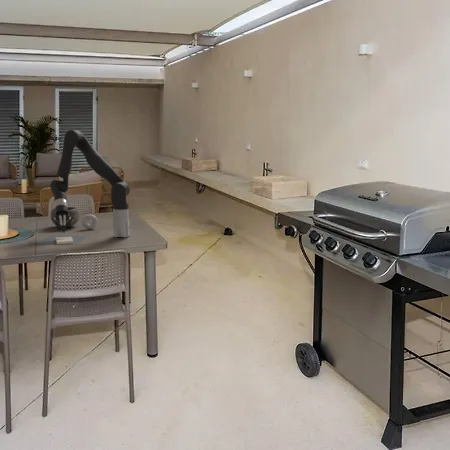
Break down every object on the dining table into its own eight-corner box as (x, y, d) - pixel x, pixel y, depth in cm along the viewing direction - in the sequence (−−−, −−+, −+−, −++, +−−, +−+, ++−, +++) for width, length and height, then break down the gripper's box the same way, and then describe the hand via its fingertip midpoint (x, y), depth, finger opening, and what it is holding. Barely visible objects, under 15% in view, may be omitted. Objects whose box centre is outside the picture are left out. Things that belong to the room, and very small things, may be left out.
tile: (55, 237, 312) (56, 241, 301) (71, 236, 315) (73, 240, 304) (55, 240, 312) (56, 244, 301) (71, 239, 315) (73, 243, 304)
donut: (82, 230, 344) (81, 214, 342) (82, 229, 347) (81, 214, 345) (98, 229, 346) (97, 214, 344) (98, 228, 349) (97, 213, 347)
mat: (88, 236, 326) (88, 235, 326) (78, 245, 302) (78, 244, 302) (49, 235, 326) (49, 235, 325) (35, 244, 302) (35, 244, 302)
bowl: (83, 224, 361) (82, 206, 359) (73, 230, 343) (72, 210, 341) (58, 224, 363) (57, 205, 360) (46, 229, 345) (45, 210, 343)
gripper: (49, 204, 313) (51, 229, 304) (73, 203, 318) (75, 227, 309) (49, 212, 319) (51, 236, 310) (72, 211, 324) (75, 234, 315)
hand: (63, 231), depth 310 cm, fingers closed
